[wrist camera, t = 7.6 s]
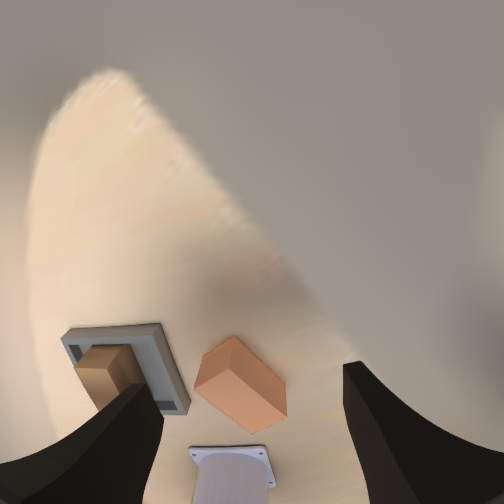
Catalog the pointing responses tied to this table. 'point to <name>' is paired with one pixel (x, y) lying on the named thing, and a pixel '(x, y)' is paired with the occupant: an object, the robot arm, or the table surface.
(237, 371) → the terracotta brick
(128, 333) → the tray
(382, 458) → the robot arm
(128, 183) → the table surface
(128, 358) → the walnut brick
